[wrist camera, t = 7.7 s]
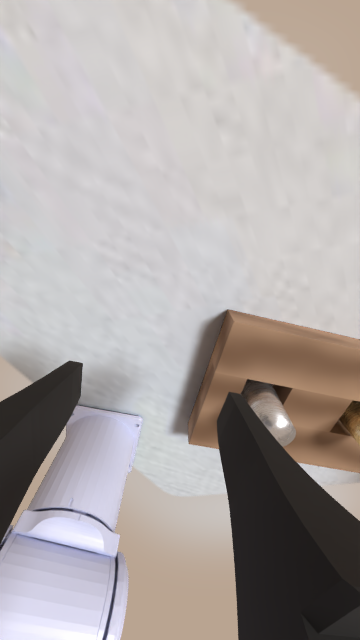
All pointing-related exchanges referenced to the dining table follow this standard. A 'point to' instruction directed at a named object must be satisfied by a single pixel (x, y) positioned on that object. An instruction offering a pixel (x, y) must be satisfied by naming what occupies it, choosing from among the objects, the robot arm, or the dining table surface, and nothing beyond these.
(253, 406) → the steel pin
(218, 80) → the dining table surface
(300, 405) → the pin board
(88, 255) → the dining table surface
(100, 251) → the dining table surface
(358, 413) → the brass pin
